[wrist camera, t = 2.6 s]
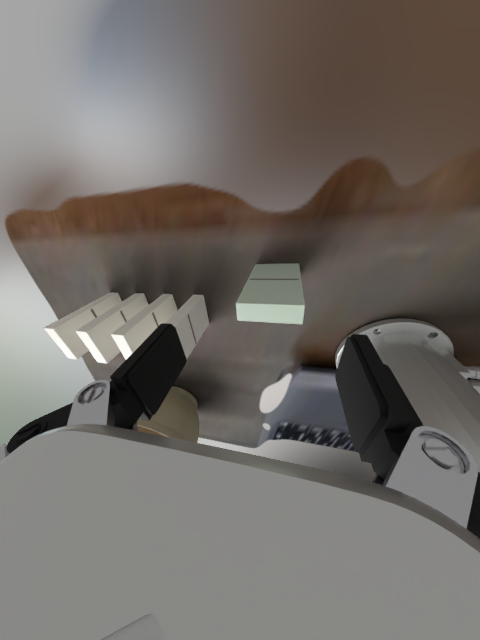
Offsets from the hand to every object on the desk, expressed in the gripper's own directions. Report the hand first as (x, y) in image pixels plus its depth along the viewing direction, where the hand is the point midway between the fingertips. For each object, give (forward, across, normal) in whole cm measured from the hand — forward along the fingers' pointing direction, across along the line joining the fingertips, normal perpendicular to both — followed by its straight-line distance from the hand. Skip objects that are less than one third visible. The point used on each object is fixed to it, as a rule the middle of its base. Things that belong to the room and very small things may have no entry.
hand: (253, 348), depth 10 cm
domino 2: (+15, +20, +6) cm, 26 cm away
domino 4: (+14, +10, +6) cm, 19 cm away
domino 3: (+14, +15, +6) cm, 22 cm away
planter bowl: (+14, +21, +32) cm, 41 cm away
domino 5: (+14, -1, 0) cm, 14 cm away
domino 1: (+15, +25, +6) cm, 30 cm away
